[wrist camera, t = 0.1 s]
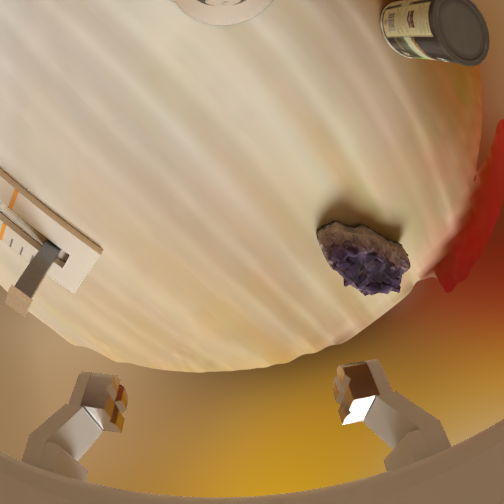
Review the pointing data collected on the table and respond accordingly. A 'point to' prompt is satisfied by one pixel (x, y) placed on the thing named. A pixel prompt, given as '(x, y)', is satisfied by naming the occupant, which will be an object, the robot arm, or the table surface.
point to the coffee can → (436, 30)
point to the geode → (363, 257)
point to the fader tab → (32, 278)
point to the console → (49, 226)
